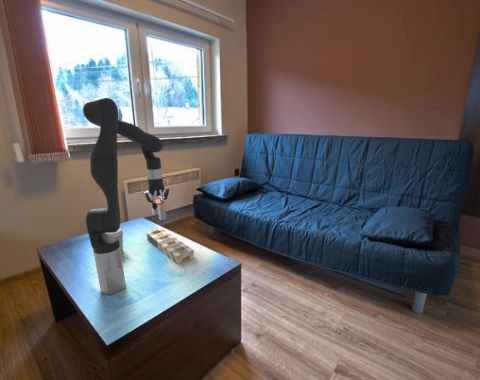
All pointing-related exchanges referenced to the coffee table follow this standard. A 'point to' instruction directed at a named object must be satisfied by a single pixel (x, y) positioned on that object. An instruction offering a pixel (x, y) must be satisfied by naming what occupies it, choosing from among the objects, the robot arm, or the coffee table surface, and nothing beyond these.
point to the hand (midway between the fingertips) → (158, 208)
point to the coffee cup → (118, 235)
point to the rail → (170, 245)
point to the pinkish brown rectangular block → (159, 209)
